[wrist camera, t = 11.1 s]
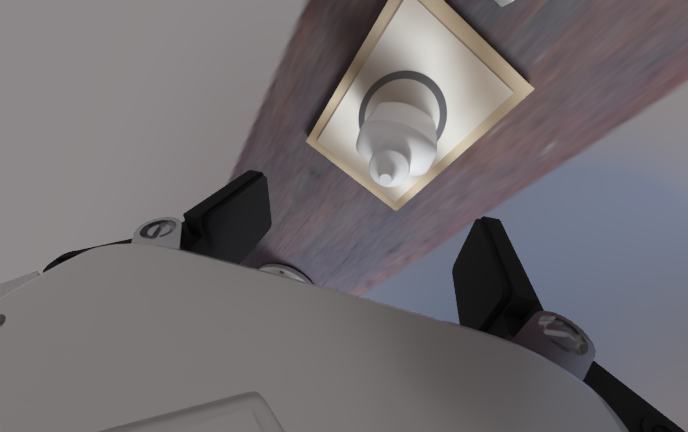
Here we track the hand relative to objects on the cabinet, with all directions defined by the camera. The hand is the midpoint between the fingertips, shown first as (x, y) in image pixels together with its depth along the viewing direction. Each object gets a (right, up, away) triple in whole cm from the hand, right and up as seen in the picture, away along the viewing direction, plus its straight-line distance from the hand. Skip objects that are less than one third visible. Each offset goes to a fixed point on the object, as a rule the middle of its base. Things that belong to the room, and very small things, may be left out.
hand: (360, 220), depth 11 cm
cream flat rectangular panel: (+5, +10, +13) cm, 17 cm away
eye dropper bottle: (+5, +9, +12) cm, 16 cm away
